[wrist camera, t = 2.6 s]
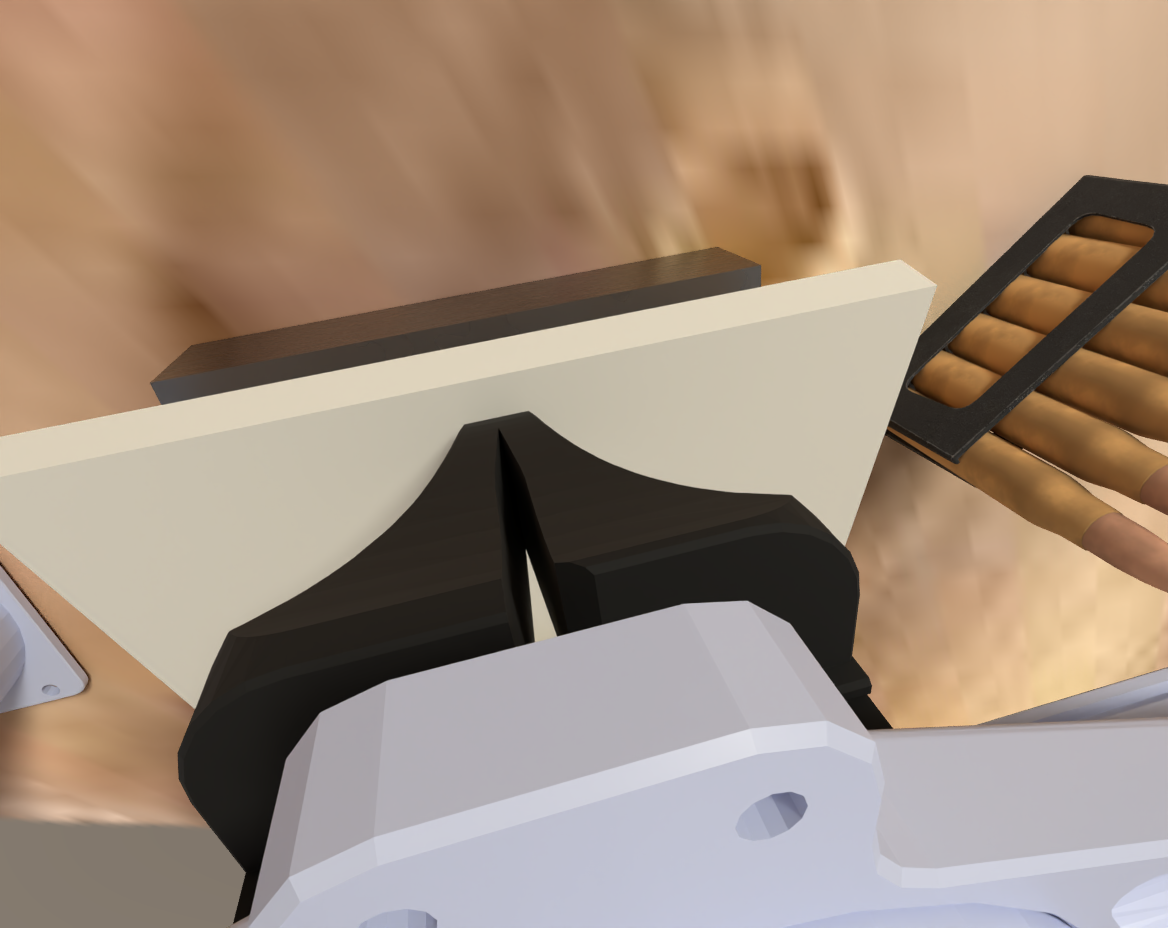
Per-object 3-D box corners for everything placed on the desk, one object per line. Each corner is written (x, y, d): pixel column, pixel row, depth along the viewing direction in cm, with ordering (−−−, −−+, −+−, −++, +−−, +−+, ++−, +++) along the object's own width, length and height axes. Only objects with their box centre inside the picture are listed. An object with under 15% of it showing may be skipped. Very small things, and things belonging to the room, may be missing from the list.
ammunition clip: (875, 429, 24) (1197, 649, 14) (850, 403, 24) (1175, 616, 13) (1104, 210, 22) (1696, 285, 12) (1086, 173, 21) (1709, 216, 11)
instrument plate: (316, 774, 22) (304, 953, 18) (-29, 442, 11) (-241, 730, 7) (784, 645, 24) (858, 782, 20) (900, 259, 13) (1108, 406, 9)
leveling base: (349, 677, 25) (332, 791, 20) (190, 345, 18) (115, 413, 13) (724, 581, 26) (779, 666, 22) (717, 247, 19) (796, 279, 15)
